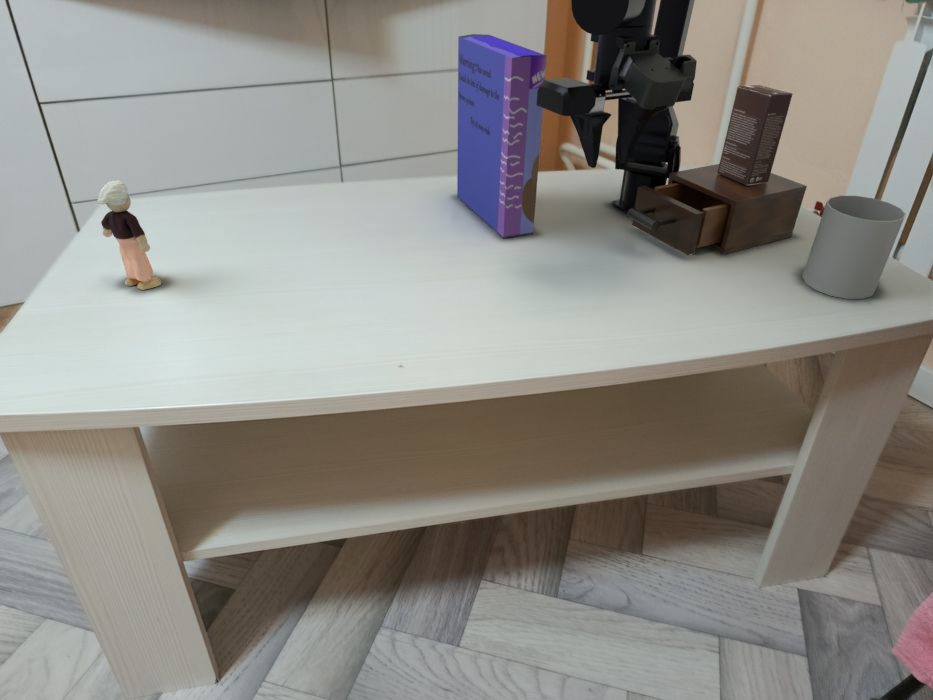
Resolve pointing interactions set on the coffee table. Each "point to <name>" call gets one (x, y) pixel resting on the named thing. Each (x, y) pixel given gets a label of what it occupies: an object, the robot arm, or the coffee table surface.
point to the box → (754, 134)
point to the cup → (852, 246)
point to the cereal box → (499, 131)
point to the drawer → (680, 216)
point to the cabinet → (748, 206)
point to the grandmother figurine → (127, 235)
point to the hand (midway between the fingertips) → (607, 164)
